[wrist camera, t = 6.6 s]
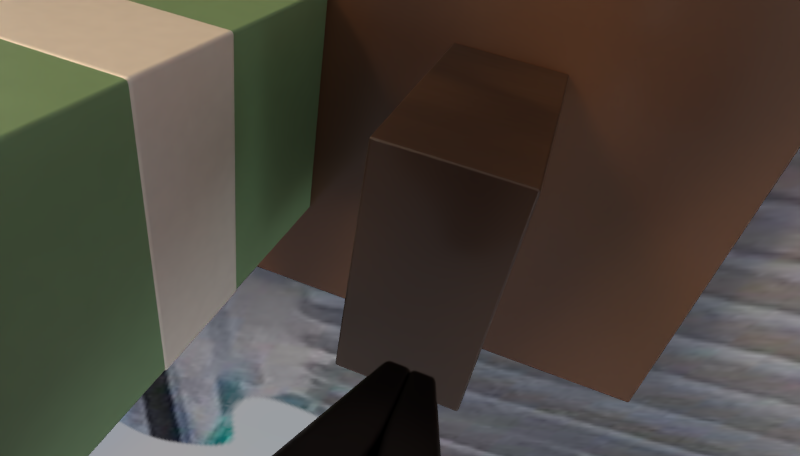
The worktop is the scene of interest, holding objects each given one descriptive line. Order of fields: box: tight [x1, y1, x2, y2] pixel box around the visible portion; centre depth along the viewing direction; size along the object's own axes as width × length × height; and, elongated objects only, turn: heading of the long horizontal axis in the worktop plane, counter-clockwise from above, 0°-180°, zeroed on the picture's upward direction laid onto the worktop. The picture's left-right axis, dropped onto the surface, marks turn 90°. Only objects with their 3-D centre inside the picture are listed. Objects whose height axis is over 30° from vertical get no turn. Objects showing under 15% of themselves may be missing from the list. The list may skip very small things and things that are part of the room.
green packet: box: [0, 0, 327, 456], centre depth 12 cm, size 9×7×12 cm
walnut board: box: [257, 0, 800, 411], centre depth 14 cm, size 22×14×7 cm, turn 79°
